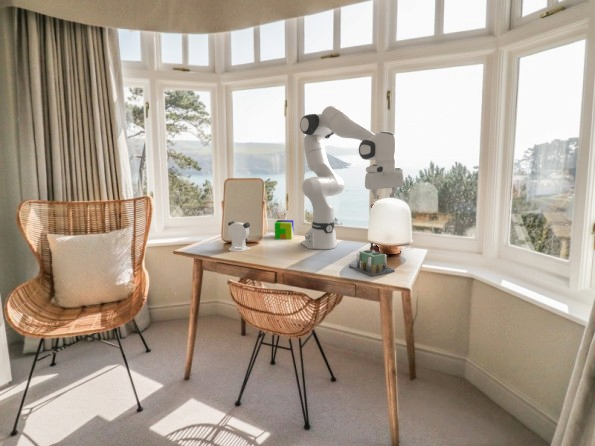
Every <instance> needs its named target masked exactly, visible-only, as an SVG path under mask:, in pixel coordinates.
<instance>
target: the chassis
mask: <svg viewBox="0 0 595 446" xmlns="http://www.w3.org/2000/svg"><path fill="white" fill-rule="evenodd" d="M387 257H388V255H386V254H384V263H383V264H379V265H371V259H372V258H371V257H368V263H366V262H363V261H360V253H359V252H357V253H356V262H355V263H352V264H349V265H348V267H349V268H350V269H353V270H355V271H358V272H360V273H363V274H365V275H367V276H370V277H375V276H380V275H386V274H389V273H394V272H395V268H392V267H389V266H387Z"/></svg>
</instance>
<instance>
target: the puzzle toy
mask: <svg viewBox="0 0 595 446" xmlns="http://www.w3.org/2000/svg"><path fill="white" fill-rule="evenodd" d="M294 229H295V228H294V220H293V219H292V220H289V219H287V220H286V219H284V220H283V219H278V220H276V221H275V222H274V239H275V240H292V239H293V237H294V236H295V235H294Z"/></svg>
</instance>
